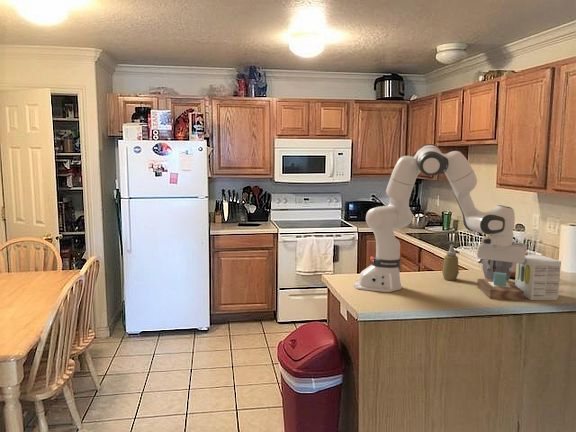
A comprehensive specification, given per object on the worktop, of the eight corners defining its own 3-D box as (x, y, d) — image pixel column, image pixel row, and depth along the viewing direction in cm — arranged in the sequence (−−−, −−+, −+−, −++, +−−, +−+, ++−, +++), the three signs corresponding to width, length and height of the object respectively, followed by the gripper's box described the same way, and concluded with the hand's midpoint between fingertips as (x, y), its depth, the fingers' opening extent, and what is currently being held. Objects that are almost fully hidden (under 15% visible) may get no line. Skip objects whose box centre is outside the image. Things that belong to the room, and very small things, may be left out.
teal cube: (493, 285, 216) (494, 274, 215) (493, 282, 220) (494, 272, 220) (505, 286, 214) (506, 275, 213) (505, 283, 219) (505, 273, 218)
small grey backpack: (513, 284, 234) (516, 244, 232) (502, 286, 230) (505, 246, 228) (488, 277, 247) (491, 240, 245) (477, 279, 244) (479, 241, 241)
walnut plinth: (489, 298, 209) (490, 289, 208) (477, 286, 228) (477, 278, 228) (523, 300, 207) (523, 291, 207) (507, 288, 227) (508, 279, 226)
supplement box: (513, 292, 220) (516, 255, 218) (540, 291, 222) (542, 255, 220) (530, 300, 207) (533, 261, 205) (558, 300, 209) (562, 261, 207)
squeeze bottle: (442, 280, 239) (444, 245, 237) (441, 276, 247) (443, 243, 245) (459, 281, 237) (461, 246, 235) (457, 278, 245) (459, 243, 243)
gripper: (527, 242, 213) (525, 272, 215) (479, 237, 223) (477, 266, 225) (527, 244, 208) (524, 275, 209) (477, 239, 217) (475, 268, 219)
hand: (499, 270), depth 217 cm, fingers open, 8 cm apart
